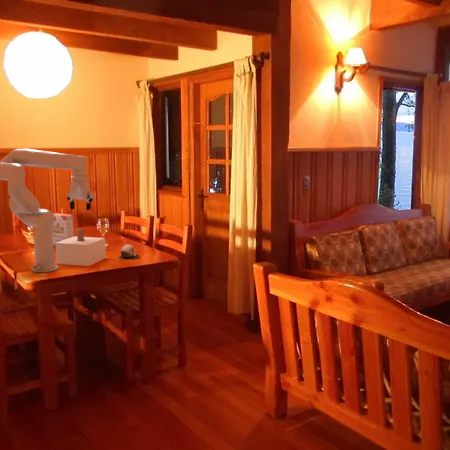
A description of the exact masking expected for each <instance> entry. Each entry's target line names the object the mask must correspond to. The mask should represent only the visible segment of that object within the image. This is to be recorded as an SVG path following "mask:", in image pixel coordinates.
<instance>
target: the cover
mask: <svg viewBox="0 0 450 450" xmlns="http://www.w3.org/2000/svg"><path fill="white" fill-rule="evenodd" d="M84 231H85V230H84V229H83V228H79V229H76V236H75V235H74V237H71V238H68V239H65V240H62V241H59V242H56V243H55V244H56V248H55V259H56V260H55V262H56V264H57V265H67V266H68V265H69V266H79V267H80V266H83V267H90V266H92V265H94V264H96V263H99V262H101V261H104V260H105V259H106V257H107V255H106V254H107V251H106V238H105V237H94V236H93V237H92V236H91V237H89V236H85V232H84Z"/></svg>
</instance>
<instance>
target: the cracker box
mask: <svg viewBox="0 0 450 450" xmlns="http://www.w3.org/2000/svg"><path fill="white" fill-rule="evenodd" d="M53 215H54V227H53V239H54V249H56V244H55V243H56V242H59V241H62V240H65V239H68V238H71V237H74V236H75V235H74V233H75V232H74V218H73V217H74V216H73V214H68V213H67V214H66V213H59V212H58V213H53Z"/></svg>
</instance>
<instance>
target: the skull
mask: <svg viewBox="0 0 450 450" xmlns="http://www.w3.org/2000/svg"><path fill="white" fill-rule="evenodd" d="M140 257H141V256H140V254H137V253H136V249H135V248H134V246H133V245H131V244H125V245H123V246H122V248H121V249H120V256H118V259H121V260H122V259H124V260H126V261H127V260H128V261H131V260H137V259H139V258H140Z"/></svg>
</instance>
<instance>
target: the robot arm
mask: <svg viewBox="0 0 450 450" xmlns="http://www.w3.org/2000/svg"><path fill="white" fill-rule="evenodd" d="M87 161H88V160H87V157H86V156H84V155H76V154H69V153H68V154H67V153H60V152H55V151H54V152H53V151H47V150H41V149H40V150H39V149H33V148H32V149H31V148H15V149H13V150H11V151H10V152H9V153H8V154H6V155H5V156H4V157H3V158H2V159H1V160H0V181H7V182H8V184H7V194H8V195H9V197H10V198H9V201H8V206H9V209H10V211H11V212H12V213H13V215H15V216H16V217H17V218H18V219H19V220H20V221H21V222H22V223H23V224H24V225H26V226H28V227H35V230H34V232H33V246H34V247H33V249H34V258H35V259H34V265H31V266H30V270H31V271H33V272H35V273H50V272H54V271H57V270H59V265H58V264H57V265H56V263H55V262H56V260H55V259H56V257H55V247H54V239H53V227H54V215H53V214H54V213H53V212H52V211H51V210H49V209H46V208H41V205H40V202H39V200H38V199H37V198H36V197H35V196H34V195H33V194H32V192H31V191H30V190H29V189H28V187H27V186H26V185H25V181H26V180H25V179H26V169H25V166H26V167H31V168H32V167H34V168H41V169H62V170H69V171H72V175H71V176H70V179H72V180H71V181H70V188H69V192H66V193H65V197H66V199H67V201H68V202H69V208H70V210H75V200H82V201H83V200H84V201H85V202H86V204H85V207H86V208H85V209H86V211H90V210H91V209H92V208H91V207H92V202H93V201H94V199H95V197H96V195H95V194H94V193H92V192H91V191H90V184H89V181H88V170H87V169H88V168H87V166H88V165H87V163H88V162H87Z"/></svg>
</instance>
